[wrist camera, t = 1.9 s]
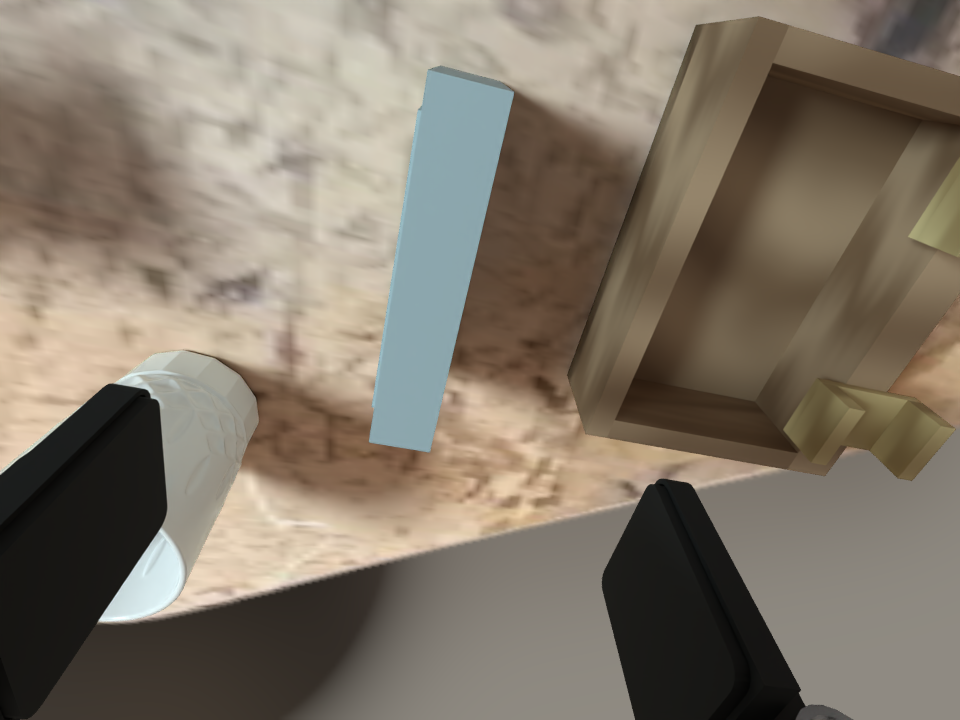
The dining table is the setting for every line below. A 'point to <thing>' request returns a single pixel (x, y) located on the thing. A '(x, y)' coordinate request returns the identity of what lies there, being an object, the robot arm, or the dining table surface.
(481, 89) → the door
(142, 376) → the white cup
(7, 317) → the dining table surface
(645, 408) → the carcass
